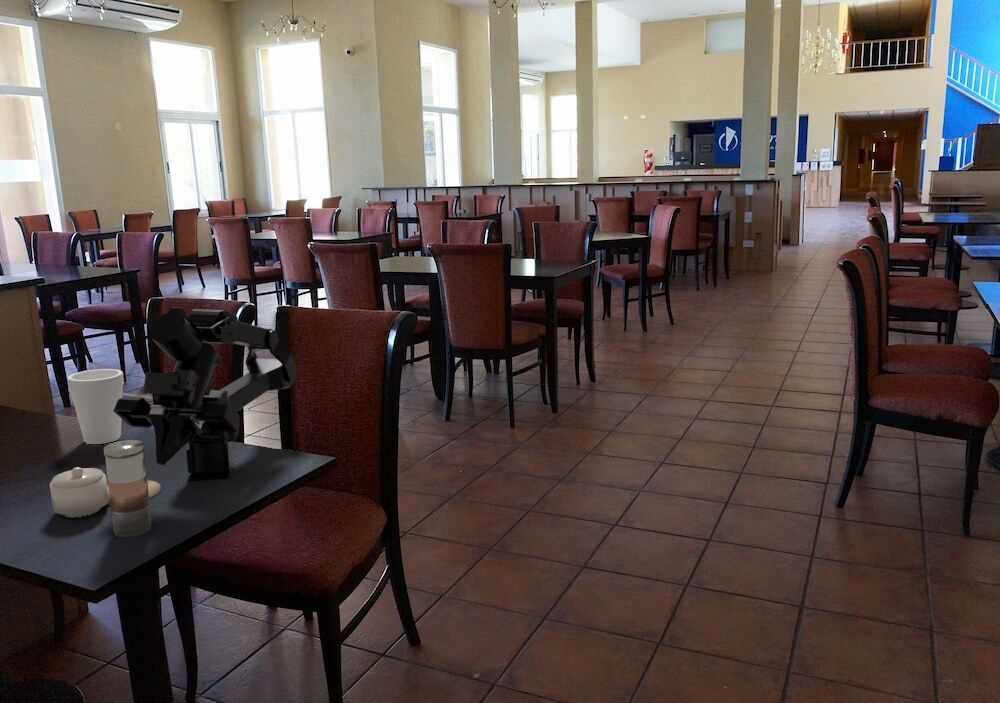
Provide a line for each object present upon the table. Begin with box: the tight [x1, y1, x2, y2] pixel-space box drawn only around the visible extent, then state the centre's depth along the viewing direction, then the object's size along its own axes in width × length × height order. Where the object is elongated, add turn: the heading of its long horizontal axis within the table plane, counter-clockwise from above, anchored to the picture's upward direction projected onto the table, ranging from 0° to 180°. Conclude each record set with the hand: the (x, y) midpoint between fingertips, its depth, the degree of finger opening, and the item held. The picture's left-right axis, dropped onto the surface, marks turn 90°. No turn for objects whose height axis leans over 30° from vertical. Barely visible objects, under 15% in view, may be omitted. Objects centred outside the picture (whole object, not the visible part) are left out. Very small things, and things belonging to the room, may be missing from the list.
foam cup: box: [67, 368, 125, 445], centre depth 154 cm, size 10×9×13 cm
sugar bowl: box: [49, 466, 109, 519], centre depth 122 cm, size 8×8×7 cm
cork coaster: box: [105, 479, 162, 507], centre depth 129 cm, size 10×10×1 cm
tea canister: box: [103, 439, 152, 538], centre depth 115 cm, size 5×5×13 cm
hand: (160, 464), depth 122 cm, fingers closed
